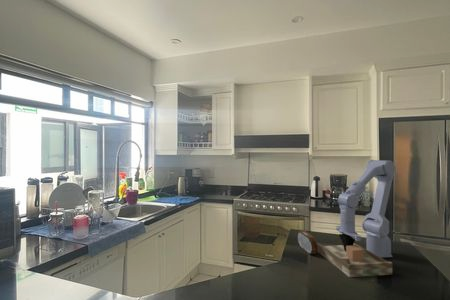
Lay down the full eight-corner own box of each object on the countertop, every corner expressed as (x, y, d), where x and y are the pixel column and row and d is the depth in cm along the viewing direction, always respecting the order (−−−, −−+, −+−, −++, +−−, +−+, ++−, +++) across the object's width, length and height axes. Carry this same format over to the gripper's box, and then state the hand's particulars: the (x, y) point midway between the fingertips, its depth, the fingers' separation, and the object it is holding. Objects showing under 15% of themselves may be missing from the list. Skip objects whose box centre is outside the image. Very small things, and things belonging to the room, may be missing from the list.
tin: (317, 256, 110) (317, 238, 110) (311, 257, 109) (311, 238, 109) (302, 244, 124) (302, 228, 125) (296, 244, 124) (296, 228, 124)
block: (356, 255, 104) (356, 245, 104) (363, 260, 100) (362, 249, 100) (346, 256, 104) (346, 245, 104) (352, 261, 99) (352, 250, 99)
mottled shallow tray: (352, 249, 118) (352, 240, 118) (392, 274, 94) (392, 262, 94) (317, 251, 115) (317, 242, 115) (349, 277, 91) (349, 265, 92)
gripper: (330, 216, 114) (330, 245, 113) (349, 225, 99) (349, 259, 99) (344, 216, 114) (344, 245, 114) (365, 225, 100) (365, 258, 100)
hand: (347, 251), depth 107 cm, fingers closed
